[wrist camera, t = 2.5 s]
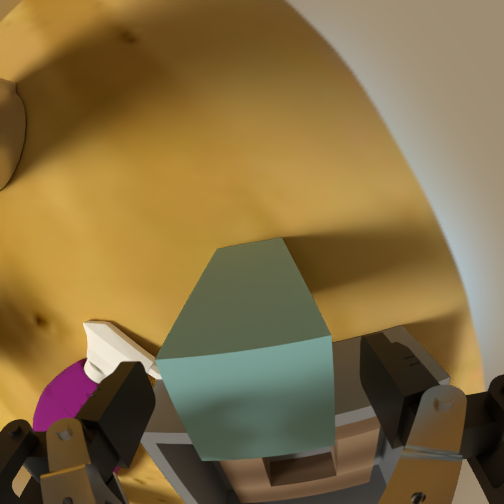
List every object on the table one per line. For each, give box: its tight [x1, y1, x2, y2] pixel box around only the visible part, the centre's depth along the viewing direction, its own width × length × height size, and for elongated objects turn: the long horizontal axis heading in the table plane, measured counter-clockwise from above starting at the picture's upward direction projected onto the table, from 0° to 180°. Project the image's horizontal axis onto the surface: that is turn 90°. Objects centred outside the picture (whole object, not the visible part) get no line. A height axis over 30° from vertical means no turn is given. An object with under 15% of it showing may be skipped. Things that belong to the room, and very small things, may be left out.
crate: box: [140, 325, 450, 504], centre depth 18 cm, size 18×18×7 cm
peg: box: [155, 237, 335, 461], centre depth 12 cm, size 4×4×12 cm
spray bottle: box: [33, 320, 162, 474], centre depth 20 cm, size 3×11×24 cm
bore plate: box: [219, 416, 380, 503], centre depth 19 cm, size 12×12×3 cm
